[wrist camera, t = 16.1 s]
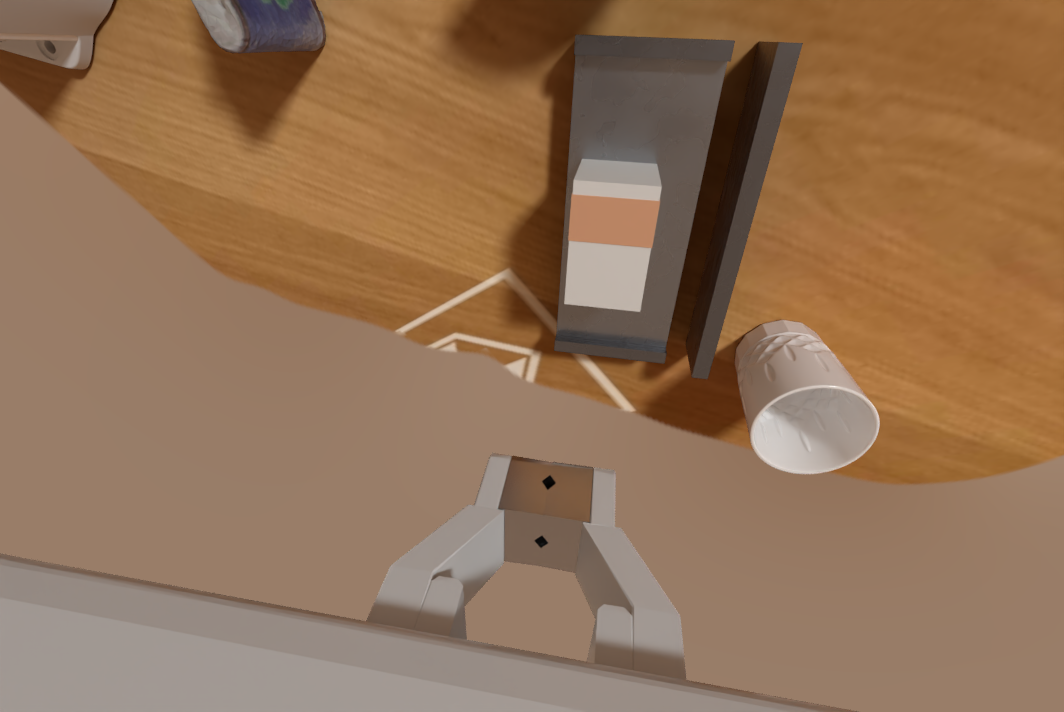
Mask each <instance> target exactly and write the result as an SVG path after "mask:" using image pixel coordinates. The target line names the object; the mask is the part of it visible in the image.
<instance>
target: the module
mask: <svg viewBox="0 0 1064 712" xmlns="http://www.w3.org/2000/svg"><path fill="white" fill-rule="evenodd" d="M661 189H662V185H661V180H660V175H659V171H658V166H657V164H652V163H637V162H623V161H608V160H594V159H582V160H581V163H580V165H579V168H578V170H577V173H576V175H575V178H574V181H573V192H572V196H571V209H570V222H569V236H568V241H569V247H568V261H567V274H566V287H565V300H564V304H570V305H579V306H589V307H598V308H608V309H617V310H627V311H636V312H640V310H641V304H642V298H643V293H644V287H645V281H646V275H647V269H648V264H649V258H650V252H651V248H652V246H653V240H654V234H655V229H656V223H657V217H658V211H659V206H660V194H661Z"/></svg>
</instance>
